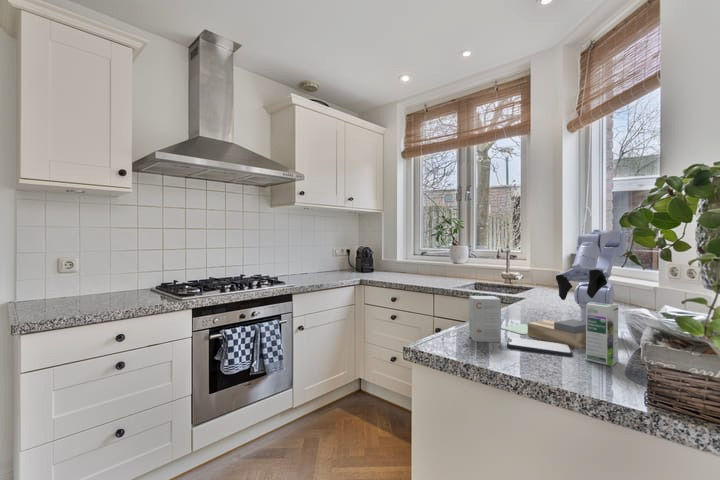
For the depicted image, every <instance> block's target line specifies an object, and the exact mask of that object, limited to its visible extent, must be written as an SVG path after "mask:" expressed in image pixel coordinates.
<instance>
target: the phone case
mask: <svg viewBox="0 0 720 480" xmlns="http://www.w3.org/2000/svg"><path fill="white" fill-rule="evenodd" d="M506 347H507V349H510V350H515V351H522V352H523V351H524V352H531V353H540V354H545V355H546V354H547V355H552V356H553V355H554V356H561V357H573V350H572V348H571V347H570V346H569V345H566V344H559V343H553V342H550V341H545V340H544V341H543V340H537V339H536V340H535V339H529V338H521V337H513V336H510V337H508V338H507V341H506Z"/></svg>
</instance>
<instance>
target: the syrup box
mask: <svg viewBox="0 0 720 480" xmlns="http://www.w3.org/2000/svg"><path fill="white" fill-rule="evenodd" d="M585 361H587V362H593V363H597V364H600V365H605V366H609V367H613V366H614V365H616V364H617V363H618V361H619V304H613V305H612V304H603V303H595V302H590V303H588V304H586V346H585Z"/></svg>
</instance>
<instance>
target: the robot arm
mask: <svg viewBox="0 0 720 480" xmlns="http://www.w3.org/2000/svg"><path fill="white" fill-rule="evenodd" d="M626 244H627V232H626V231H625V230H622V229H621V230H615V229H612V230H611V229H609V230H608V229H607V230H602V229H601V230H600V229H592V231H590V232H589V233H582V234H581V235H578V237H577V244H576V254H575V257H574V261H573V264H572V265H571V268H569V269H567V270H565V271H563V272H560V273H557V274H555V277H554V280H555V281H556V283H557V285H558V296H559V298H560V299H561V300H562V301H565V300H567V296H568V293H569V291H570V290H571V289H572V288H573V285H572V283H571V282H577V283H579V284H578V285H577V286H575V289H574V292H573V293H574V294H573V298H574V301H575V304H577V305H578V307H580V311H579V312H580V315H579V316H580V319H579V321H583V322H586V304H588V303H590V302H595V303H603V304H612V305H614V297H615V290H614V289H615V288H614V287H613V284H611V283H609V282H608V281H609V278H610V277H611V275H612V269H613V266H614V264H615V262H616V259H617V257H620V256H622V255H623V254H624V252H625V249H626Z"/></svg>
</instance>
